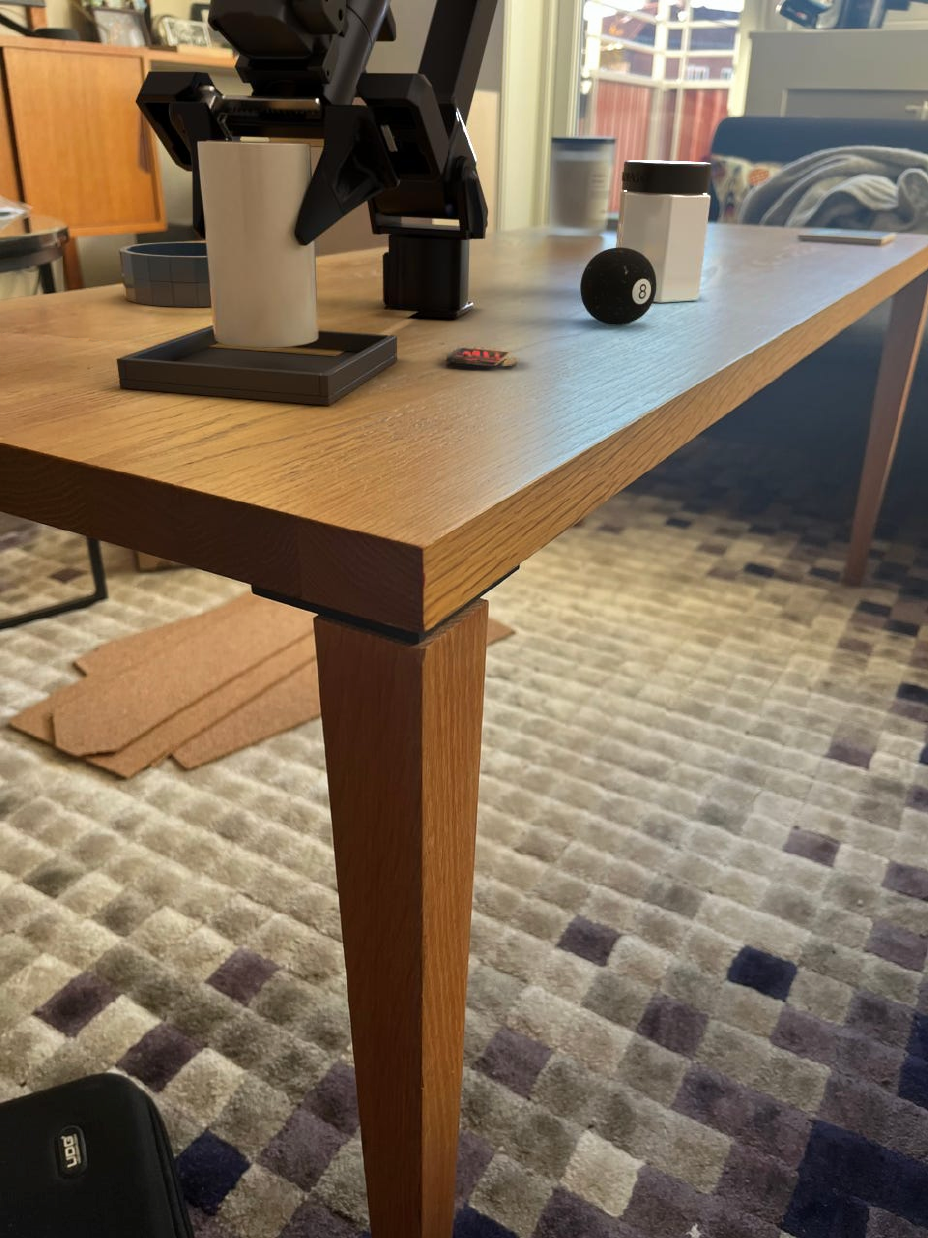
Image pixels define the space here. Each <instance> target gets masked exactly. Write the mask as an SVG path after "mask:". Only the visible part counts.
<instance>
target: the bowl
mask: <svg viewBox="0 0 928 1238" xmlns="http://www.w3.org/2000/svg"><path fill="white" fill-rule="evenodd" d="M118 252H119V260H120V269H121V278H122V286H123V293H124V294H123V295H124V298H125V299H126V300H127V301H129V302H132V303H135V304H138V305H139V304H140V305H145V306H156V307H168V308H169V307H170V308H211V296H210V285H209V273H208V262H207V250H206V241H165V242H147V243H138V244H137V243H136V244H131V245H125V246H123V247H121V248H119V249H118Z"/></svg>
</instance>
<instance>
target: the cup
mask: <svg viewBox="0 0 928 1238" xmlns="http://www.w3.org/2000/svg"><path fill="white" fill-rule="evenodd" d="M197 147H198V158H199V170H200V181H201V193H202V204H203V216H204V227H205V239H204V240H205V242H206V250H207V262H208V273H209V285H210V296H211V307H210V308H211V319H212V325H213V331H214V339H215V341H217V342H219V343H218V344H222V345H225V346H231V347H237V348H248V349H279V348H294V347H293V346H299V345H305V344H309V343H312V342H314V341H316V340H318V338H319V330H320V329H319V326H320V325H319V305H318V303H319V301H318V280H317V279H318V277H317V259H316V258H317V257H316V255H317V254H316V239H315V240H313V241H312V242H311V243H310V244H308V245H307V246H302V245H300V244H299V243H298V241H297V239H296V237H295V234H294V231H295V227H296V223H297V219H298V215H299V211H300V208H301V205H302V203H303V200H304V197H305V195H306V192H307V190H308V187H309V184H310V182H311V179H312V177H313V161H312V160H313V159H312V147H311V144H310V143H302V142H294V141H270V140H259V139H240V140H206V141H197Z"/></svg>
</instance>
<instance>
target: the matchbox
mask: <svg viewBox="0 0 928 1238" xmlns="http://www.w3.org/2000/svg"><path fill="white" fill-rule="evenodd" d="M510 354H512V351H511V350H509V351H508V350H501V349H495V348H494V349H490V348H485V347H461V346H457V347H456V349H453V351H452V352H451V353H450V354H446V362H447V363H448V362H450V363H454V364H456V363H457V364H467V365H475V366H499V364H500V363H501V362H502V364H500V366H501V367H512V366H514V365H515V366H516V365H517V364H518V360H517V359H516V358H513V357H512V358H511V359H510V358H508V357H509V355H510ZM460 367H462V368H463V366H461V365H460Z"/></svg>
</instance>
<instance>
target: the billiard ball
mask: <svg viewBox="0 0 928 1238" xmlns="http://www.w3.org/2000/svg"><path fill="white" fill-rule="evenodd" d="M656 287H657V282H656V275H655V271H654V269H653V266H652V265H651V263H650V261H649V260H648V259H647V258H646V257H645V256H644V255H642V254H641V253H639V252H638V251H635V250H633V249H629V248H622V247H618V248H616V247H611V248H607V249H604V250H602V251H600V252H599V253H597V254H595V255H594V256H593V257H592V258H591V259H590V260H589V261H588V263H587V264H586V265H585V267H584V270H583V272H582V274H581V278H580V283H579V291H580V297H581V302H582V304H583V306H584V308H585V310H586V311H587V313H588V314H589V315H590V316H591V317H592V318H593V319H595V320H596V321H598V322H600V323H603V324H606V325H610V326H611V325H612V326H624V325H628V324H631V323H634V322H636V321H638V320H639V319H642V317H643V316H645V314H646V313H647V312H648V311H649V310H650V308H651V306H652V304H653V303H654V302H653V300H654V297H655V294H656Z"/></svg>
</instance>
